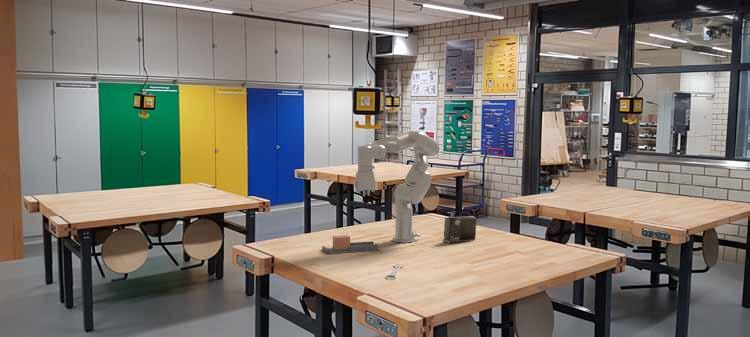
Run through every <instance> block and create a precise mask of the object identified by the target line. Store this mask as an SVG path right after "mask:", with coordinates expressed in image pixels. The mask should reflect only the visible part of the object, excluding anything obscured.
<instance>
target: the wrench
mask: <svg viewBox="0 0 750 337" xmlns="http://www.w3.org/2000/svg"><path fill="white" fill-rule="evenodd" d="M397 265H398V266H397ZM392 267H393V268H394V269H393V271H392V272H391V273H390V274H388V275H385V276H384V279H385V278H386V279H385V280H388V279H390V281H393V280H392V279H394V280H396V279H397V276H396V275H397V273H398V272H399V270H400V269H404V268H405V265H400V264H392ZM403 267H404V268H403ZM399 268H400V269H399ZM394 275H395V276H394Z"/></svg>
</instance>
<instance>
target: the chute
mask: <svg viewBox="0 0 750 337" xmlns="http://www.w3.org/2000/svg"><path fill="white" fill-rule="evenodd" d="M374 242H375V241H374V240H371V241H356V242H350V246H349V249H346V250H334V249H333V247H326V246H324V245H322V246H321V247H322V248H321V250H322V251H323V252H324V253H326V255H332V254H345V253H346V254H347V253H360V252H361V253H363V252H378V251H380V250H379V244H378V243H377V244H376V243H374Z"/></svg>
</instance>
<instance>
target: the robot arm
mask: <svg viewBox="0 0 750 337" xmlns="http://www.w3.org/2000/svg"><path fill="white" fill-rule="evenodd" d="M411 147H413V153H414V162H413V164H412V166H411V167H410V168H409V170H408V172H407V175H406V176H405V180H404V181H405V183H406V184H407V185H405V184H403V185H402V184H401V185H398V186H397V187H395V190H394V193H393V194H394V201H395V223H394V224H395V225H394V226H395V229H394V230H395V231H394V234H395V236H393V237H392V241H393V242H396V243H403V244H405V243H413V242H415V241H416V240H415V239H416V238H417V237H418V238H420V237H421V234H420V233H419V232H417V233H416V232H413V213H414V212H413V210H414V209H413V205H417V204H419V203H421V202H422V201H423V199H424V197H425V196H426V194H427V192H428V190H429V189H430V187H431V184H432V180H433V179H432V175H431V174H430V172H428V171H427V170H428V168H429V161H428V157H434V156H436V155H438V154H439V152H440V145H439V144H438V142H437V141H436V140H435V139H433V138H432V137H430V136H429V135H428V134H426V133H425V132H422V131H413V130H410V131H406V132H403V133H400V134H398V135H394V136H391V137H387V138H386V137H385V138H382V139H378V140H375V141H371V142H369V143H366V144H364V145H359V146H358V147H357V171H356V174H355V180H354V182H355V183H354V187H355V188H354V189H355V193H357V194H360V195H361V196H362V202H363V204H369V201H370V198H369V197H370V195H371V194H372V193H374V192H376V179H375V173H374V170H375V166H373V159H376V160H377V159H378V160H379V159H382V158H384V157H386V155H387V153H396V152H397V153H398V152H401V151H404V150H406V149H408V148H411Z"/></svg>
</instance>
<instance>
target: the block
mask: <svg viewBox="0 0 750 337" xmlns="http://www.w3.org/2000/svg"><path fill="white" fill-rule="evenodd" d="M350 243H351V236H350V235H348V234H342V235H341V234H339V235H332V248H333V249H334V250H346V249H349V246H350Z"/></svg>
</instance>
